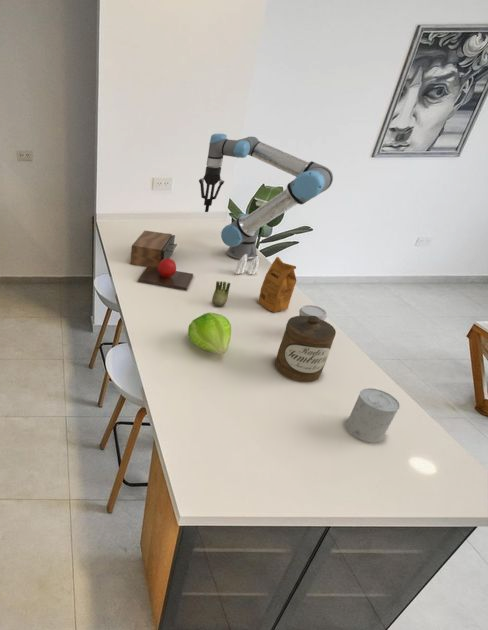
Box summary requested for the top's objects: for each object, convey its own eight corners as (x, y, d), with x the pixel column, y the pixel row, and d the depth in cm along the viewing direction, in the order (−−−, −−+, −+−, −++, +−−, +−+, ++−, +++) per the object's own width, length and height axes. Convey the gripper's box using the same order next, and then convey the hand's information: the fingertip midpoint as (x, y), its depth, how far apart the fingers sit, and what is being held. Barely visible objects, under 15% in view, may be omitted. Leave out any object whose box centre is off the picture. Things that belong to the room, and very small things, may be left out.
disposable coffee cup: (316, 332, 171) (325, 306, 164) (320, 345, 163) (329, 318, 157) (290, 328, 173) (298, 302, 167) (293, 340, 166) (301, 314, 159)
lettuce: (198, 364, 153) (204, 333, 146) (180, 334, 171) (185, 305, 164) (238, 361, 155) (246, 331, 148) (217, 331, 172) (223, 302, 165)
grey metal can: (338, 419, 129) (352, 389, 123) (368, 417, 130) (383, 387, 123) (359, 444, 121) (375, 412, 115) (391, 441, 122) (408, 410, 115)
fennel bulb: (226, 305, 190) (231, 281, 184) (221, 309, 187) (226, 285, 181) (214, 301, 193) (219, 277, 187) (209, 305, 190) (214, 281, 184)
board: (192, 276, 216) (193, 273, 215) (186, 290, 202) (186, 287, 202) (147, 268, 224) (147, 266, 224) (138, 282, 211) (138, 279, 210)
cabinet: (170, 252, 243) (172, 234, 237) (159, 269, 224) (161, 249, 218) (143, 248, 249) (144, 230, 243) (130, 264, 230) (131, 245, 224)
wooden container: (280, 380, 145) (297, 326, 134) (270, 354, 158) (285, 304, 146) (326, 384, 143) (348, 330, 132) (312, 358, 156) (330, 307, 144)
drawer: (178, 252, 241) (180, 235, 236) (168, 269, 222) (170, 251, 217) (144, 247, 248) (146, 231, 243) (132, 263, 229) (133, 246, 224)
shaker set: (235, 276, 215) (240, 256, 209) (232, 273, 219) (236, 253, 213) (258, 274, 216) (262, 254, 210) (253, 271, 220) (258, 251, 214)
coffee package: (272, 298, 195) (284, 254, 184) (290, 311, 185) (304, 265, 173) (253, 300, 193) (264, 256, 182) (271, 314, 183) (283, 268, 171)
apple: (176, 274, 214) (179, 255, 209) (172, 281, 207) (175, 262, 202) (159, 271, 218) (161, 252, 212) (154, 278, 211) (156, 259, 205)
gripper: (227, 165, 217) (220, 210, 229) (202, 164, 222) (195, 208, 234) (226, 168, 211) (218, 214, 224) (199, 166, 216) (193, 211, 228)
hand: (206, 211), depth 229 cm, fingers closed
